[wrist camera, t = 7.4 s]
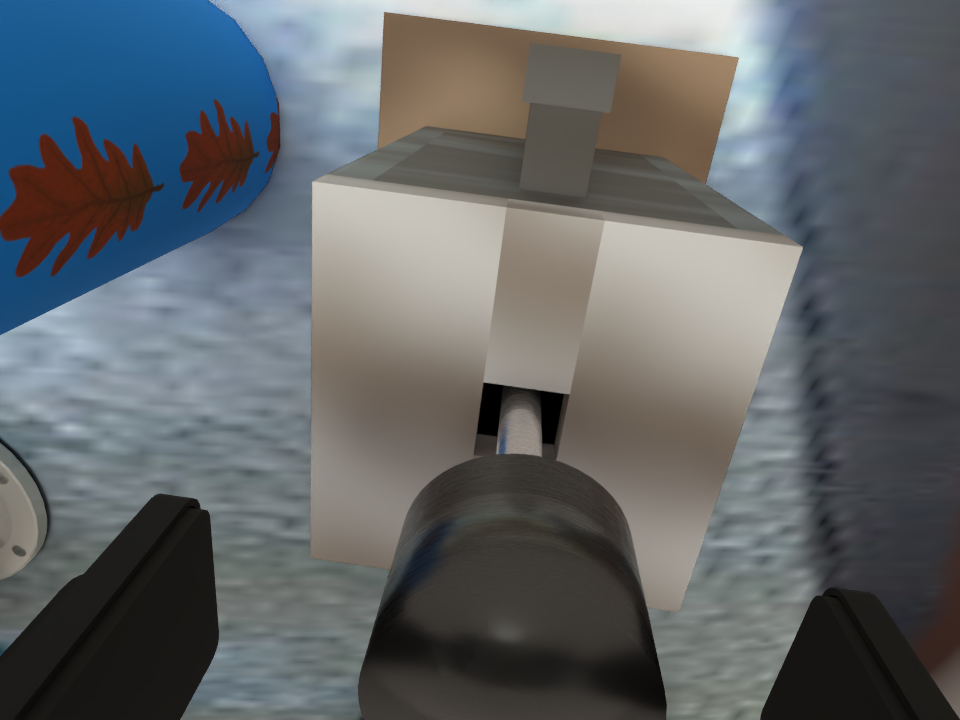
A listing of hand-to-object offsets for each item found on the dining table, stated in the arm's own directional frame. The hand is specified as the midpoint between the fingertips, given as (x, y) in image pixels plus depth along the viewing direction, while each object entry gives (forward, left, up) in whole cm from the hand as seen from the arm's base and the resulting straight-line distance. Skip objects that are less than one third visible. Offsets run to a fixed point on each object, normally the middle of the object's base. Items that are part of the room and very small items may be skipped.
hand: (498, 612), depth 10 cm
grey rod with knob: (0, 0, -19) cm, 19 cm away
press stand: (0, 0, -22) cm, 22 cm away
